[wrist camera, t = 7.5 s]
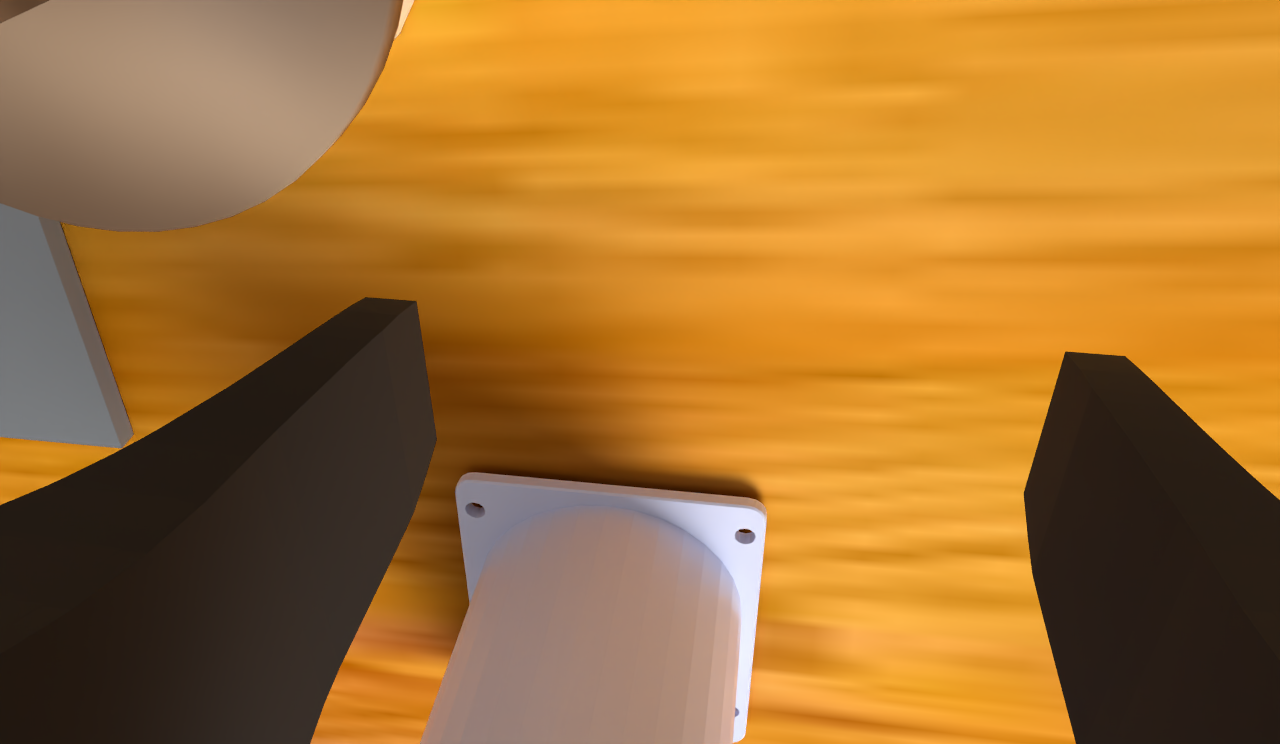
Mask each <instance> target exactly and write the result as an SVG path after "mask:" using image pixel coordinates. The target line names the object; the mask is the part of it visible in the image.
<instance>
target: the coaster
mask: <svg viewBox="0 0 1280 744" xmlns="http://www.w3.org/2000/svg"><path fill="white" fill-rule="evenodd" d="M133 435H134V433H133V430H132V428H131V425H130V422H129V419H128V416H127V413H126V410H125V408H124V405H123V402H122V399H121V396H120V393H119V390H118V388H117V385H116V382H115V379H114V376H113V373H112V370H111V368H110V365H109V362H108V359H107V356H106V353H105V350H104V347H103V345H102V342H101V339H100V336H99V333H98V330H97V327H96V325H95V322H94V319H93V316H92V313H91V310H90V307H89V305H88V302H87V299H86V296H85V293H84V290H83V287H82V284H81V282H80V279H79V276H78V273H77V270H76V267H75V264H74V262H73V259H72V256H71V253H70V250H69V247H68V244H67V242H66V239H65V236H64V233H63V230H62V227H61V224H60V222H59V221H55V220H51V219H47V218H42V217H38V216H35V215H32V214H29V213H27V212H24V211H21V210H18V209H15V208H12V207H10V206H7V205H4V204H1V203H0V437H7V438H18V439H29V440H39V441H50V442H60V443H71V444H82V445H92V446H103V447H114V448H122V447H123V446H124V445H125V444H126V443H127V442H128V440H129V439H130V438H131V437H132V436H133Z"/></svg>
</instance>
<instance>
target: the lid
mask: <svg viewBox="0 0 1280 744" xmlns="http://www.w3.org/2000/svg"><path fill="white" fill-rule="evenodd" d="M402 5H403V0H0V203H1V204H4V205H7V206H10V207H12V208H15V209H18V210H21V211H24V212H27V213H29V214H32V215H35V216H38V217H42V218H47V219H51V220H55V221H59V222H63V223H67V224H71V225H75V226H81V227H89V228H96V229H104V230H112V231H150V232H158V231H166V230H174V229H182V228H189V227H196V226H200V225H203V224H207V223H211V222H214V221H218V220H221V219H225V218H228V217H232V216H234V215H236V214H238V213H241V212H243V211H245V210H247V209H249V208H251V207H254V206H256V205H258V204H260V203H262V202H264V201H266V200H268V199H269V198H271V197H272V196H274V195H275V194H277V193H278V192H280V191H281V190H282V189H284V188H285V187H287V186H288V185H290V184H291V183H293V182H294V181H296V180H297V179H298V178H299V177H300V176H301V175H302V174H303V173H304V172H305V171H306V170H307V169H308V168H310V167H311V166H312V165H313V164H314V163H315V162H316V161H317V160H318V159H319V158H320V157H321V156H322V155H323V154H324V153H325V152H326V151H327V150H328V149H329V148H330V147H331V146H332V145H333V144H334V143H335V142H336V141H337V140H338V139H339V137H340V136H341V135H342V134H343V133H344V131H345V130H346V129H347V127H348V126H349V125H350V123H351V122H352V121H353V119H354V118H355V117H356V115H357V114H358V113H359V111H360V110H361V109H362V107H363V106H364V105H365V103H366V101H367V99H368V97H369V95H370V94H371V92H372V90H373V88H374V86H375V84H376V82H377V80H378V78H379V76H380V75H381V73H382V71H383V69H384V66H385V63H386V61H387V58H388V55H389V52H390V49H391V46H392V43H393V41H394V38H395V35H396V32H397V29H398V26H399V21H400V16H401V10H402Z"/></svg>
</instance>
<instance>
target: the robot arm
mask: <svg viewBox="0 0 1280 744" xmlns="http://www.w3.org/2000/svg"><path fill="white" fill-rule="evenodd" d="M436 440H437V437H436V430H435V424H434V417H433V410H432V403H431V397H430V390H429V383H428V376H427V370H426V363H425V356H424V349H423V342H422V336H421V329H420V322H419V315H418V309H417V302H416V301H407V300H394V299H381V298H368V297H365V298H364V299H362V300H360V301H358V302H357V303H355V304H353V305H352V306H350V307H348V308H347V309H345V310H344V311H342V312H340V313H339V314H337V315H336V316H334V317H333V318H331V319H330V320H328V321H327V322H325V323H324V324H322V325H321V326H319V327H318V328H316V329H315V330H313V331H312V332H310V333H309V334H307V335H306V336H305V337H303V338H302V339H300V340H299V341H297V342H296V343H294V344H293V345H291V346H290V347H288V348H287V349H285V350H284V351H282V352H281V353H279V354H278V355H276V356H275V357H273V358H272V359H270V360H269V361H267V362H266V363H264V364H263V365H261V366H260V367H258V368H257V369H255V370H254V371H252V372H251V373H249V374H248V375H246V376H245V377H243V378H242V379H240V380H239V381H237V382H236V383H234V384H232V385H231V386H229V387H228V388H226V389H224V390H223V391H221V392H219V393H218V394H216V395H214V396H213V397H211V398H209V399H208V400H206V401H204V402H203V403H201V404H199V405H198V406H196V407H195V408H193V409H191V410H190V411H188V412H186V413H185V414H183V415H181V416H180V417H178V418H176V419H175V420H173V421H171V422H170V423H168V424H166V425H165V426H163V427H161V428H160V429H158V430H156V431H155V432H153V433H151V434H149V435H147V436H145V437H144V438H142V439H140V440H138V441H136V442H135V443H133V444H131V445H129V446H127V447H125V448H123V449H121V450H119V451H118V452H116V453H114V454H112V455H110V456H108V457H106V458H104V459H102V460H100V461H98V462H96V463H94V464H92V465H89V466H87V467H85V468H83V469H81V470H79V471H77V472H75V473H73V474H71V475H69V476H67V477H65V478H63V479H61V480H59V481H56V482H54V483H52V484H50V485H48V486H45V487H43V488H41V489H38V490H36V491H33V492H31V493H29V494H26V495H24V496H21V497H19V498H17V499H14V500H12V501H9V502H7V503H5V504H2V505H0V744H310V742H311V739H312V737H313V734H314V731H315V728H316V725H317V723H318V720H319V717H320V714H321V711H322V708H323V706H324V703H325V701H326V698H327V696H328V694H329V691H330V689H331V687H332V684H333V682H334V680H335V677H336V675H337V673H338V670H339V668H340V666H341V664H342V662H343V660H344V658H345V655H346V653H347V651H348V649H349V647H350V645H351V643H352V641H353V639H354V637H355V635H356V633H357V631H358V629H359V626H360V624H361V622H362V620H363V618H364V616H365V614H366V612H367V610H368V608H369V606H370V604H371V602H372V600H373V597H374V595H375V593H376V591H377V589H378V587H379V585H380V583H381V581H382V579H383V577H384V575H385V573H386V571H387V568H388V566H389V564H390V562H391V560H392V558H393V556H394V554H395V552H396V549H397V547H398V545H399V543H400V541H401V539H402V537H403V535H404V532H405V530H406V528H407V526H408V524H409V522H410V519H411V517H412V515H413V513H414V510H415V507H416V504H417V501H418V498H419V495H420V492H421V489H422V486H423V483H424V480H425V477H426V474H427V470H428V467H429V464H430V460H431V457H432V453H433V450H434V447H435V443H436ZM455 495H456V503H457V511H458V519H459V526H460V534H461V542H462V549H463V557H464V565H465V572H466V580H467V588H468V596H469V603H470V605H469V608H468V610H467V613H466V616H465V619H464V622H463V624H462V627H461V630H460V633H459V636H458V638H457V641H456V644H455V647H454V650H453V652H452V655H451V658H450V661H449V664H448V666H447V669H446V672H445V675H444V678H443V680H442V683H441V686H440V689H439V692H438V694H437V697H436V700H435V703H434V706H433V708H432V711H431V714H430V717H429V720H428V722H427V725H426V728H425V731H424V734H423V736H422V739H421V742H420V744H733V743H734V742H737V741H740V740H741V739H743V738H744V736H745V733H746V723H747V713H748V703H749V693H750V683H751V673H752V663H753V652H754V642H755V632H756V622H757V612H758V602H759V592H760V582H761V572H762V562H763V552H764V542H765V532H766V521H767V512H766V508H765V507H764V505H763V504H762V503H761V502H759V501H757V500H756V499H752V498H747V497H737V496H726V495H715V494H704V493H693V492H683V491H672V490H661V489H650V488H640V487H629V486H618V485H607V484H597V483H586V482H575V481H564V480H554V479H543V478H532V477H521V476H511V475H500V474H489V473H478V472H471V473H467V474H464V475H462V477H461V478H460V479H459V481H458V483H457V486H456V490H455ZM1024 502H1025V512H1026V522H1027V532H1028V542H1029V550H1030V558H1031V566H1032V574H1033V578H1034V582H1035V586H1036V590H1037V595H1038V598H1039V602H1040V606H1041V610H1042V614H1043V618H1044V622H1045V626H1046V630H1047V634H1048V638H1049V642H1050V646H1051V649H1052V653H1053V657H1054V661H1055V665H1056V668H1057V672H1058V676H1059V680H1060V684H1061V688H1062V691H1063V695H1064V699H1065V703H1066V707H1067V710H1068V714H1069V718H1070V722H1071V726H1072V730H1073V733H1074V737H1075V741H1076V744H1280V500H1279V499H1278V498H1276V497H1275V496H1274V495H1273V494H1272V493H1271V492H1270V491H1268V490H1267V489H1266V488H1265V487H1264V486H1263V485H1262V484H1261V483H1259V482H1258V481H1257V480H1256V479H1255V478H1254V477H1253V476H1252V475H1251V474H1249V473H1248V472H1247V471H1246V470H1245V469H1244V468H1243V467H1242V466H1241V465H1240V464H1239V463H1237V462H1236V461H1235V460H1234V459H1233V458H1232V457H1231V456H1230V455H1229V454H1228V453H1227V452H1226V451H1225V450H1223V449H1222V448H1221V447H1220V446H1219V445H1218V444H1217V443H1216V442H1215V441H1214V440H1213V439H1212V438H1211V437H1210V436H1209V435H1208V434H1207V433H1206V432H1205V431H1203V430H1202V429H1201V428H1200V427H1199V426H1198V425H1197V424H1196V423H1195V422H1194V421H1193V420H1192V419H1191V418H1190V417H1189V416H1188V415H1187V414H1186V413H1185V412H1184V411H1183V410H1182V409H1181V408H1180V407H1179V406H1178V405H1177V404H1176V403H1175V402H1174V401H1172V400H1171V399H1170V398H1169V397H1168V396H1167V395H1166V394H1165V393H1164V392H1163V391H1162V390H1161V389H1160V388H1159V387H1158V386H1157V385H1156V384H1155V383H1154V382H1153V381H1152V380H1151V379H1150V378H1149V377H1148V376H1146V375H1145V374H1144V373H1143V372H1142V371H1141V370H1140V369H1139V368H1138V367H1137V366H1136V365H1134V364H1133V363H1132V362H1131V361H1130V360H1129V359H1128V358H1126V357H1125V356H1115V355H1102V354H1089V353H1076V352H1065V355H1064V358H1063V362H1062V365H1061V369H1060V372H1059V375H1058V379H1057V382H1056V385H1055V389H1054V392H1053V396H1052V399H1051V402H1050V406H1049V409H1048V413H1047V416H1046V419H1045V423H1044V426H1043V430H1042V433H1041V436H1040V440H1039V443H1038V447H1037V450H1036V453H1035V457H1034V460H1033V464H1032V467H1031V470H1030V474H1029V477H1028V481H1027V484H1026V487H1025V491H1024ZM472 503H477V504H480V505H481V506H483V507H482V508H479V507H476V506H474V505H473V504H472ZM740 529H748V530H751V531H752V532H751V533H742V532H740V531H739V530H740Z"/></svg>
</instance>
